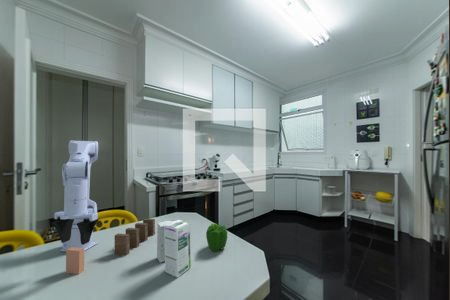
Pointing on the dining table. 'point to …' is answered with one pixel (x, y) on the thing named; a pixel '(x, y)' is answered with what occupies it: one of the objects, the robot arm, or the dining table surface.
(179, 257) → the syrup box
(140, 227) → the domino
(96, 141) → the robot arm
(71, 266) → the domino
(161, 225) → the skincare box
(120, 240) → the domino
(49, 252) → the dining table surface
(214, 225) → the bell pepper
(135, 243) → the domino
